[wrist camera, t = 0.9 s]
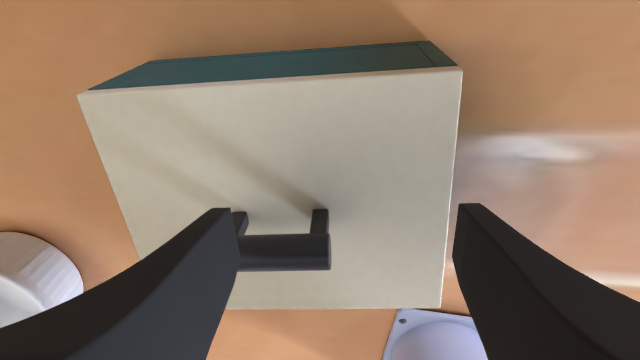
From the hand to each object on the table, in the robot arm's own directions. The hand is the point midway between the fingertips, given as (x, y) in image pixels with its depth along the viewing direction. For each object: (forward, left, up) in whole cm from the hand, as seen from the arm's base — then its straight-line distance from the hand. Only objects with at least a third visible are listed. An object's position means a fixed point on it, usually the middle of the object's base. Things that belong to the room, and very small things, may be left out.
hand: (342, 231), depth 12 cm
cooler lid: (-2, +2, -5) cm, 6 cm away
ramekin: (-15, +21, -10) cm, 28 cm away
